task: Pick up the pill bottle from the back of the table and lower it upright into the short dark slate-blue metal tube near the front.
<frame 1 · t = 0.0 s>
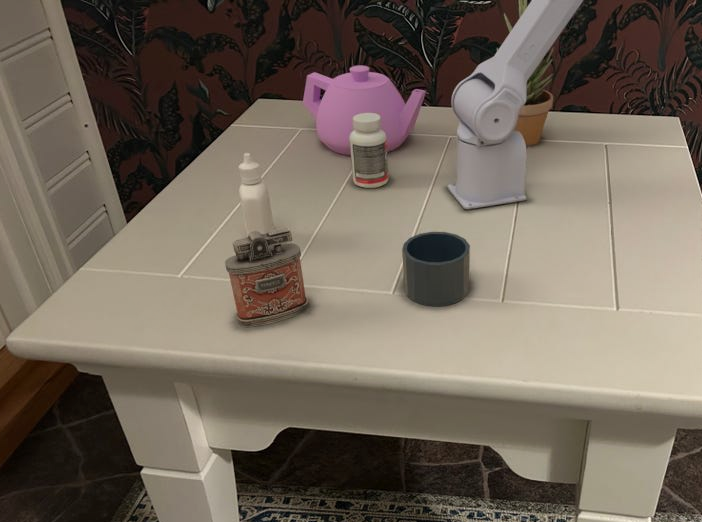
pill bottle: (371, 182, 110), on the table
tube: (436, 288, 86), on the table
lighter: (273, 315, 82), on the table
potted plant: (521, 141, 123), on the table
teapot: (365, 142, 123), on the table
eye dropper bottle: (262, 244, 95), on the table
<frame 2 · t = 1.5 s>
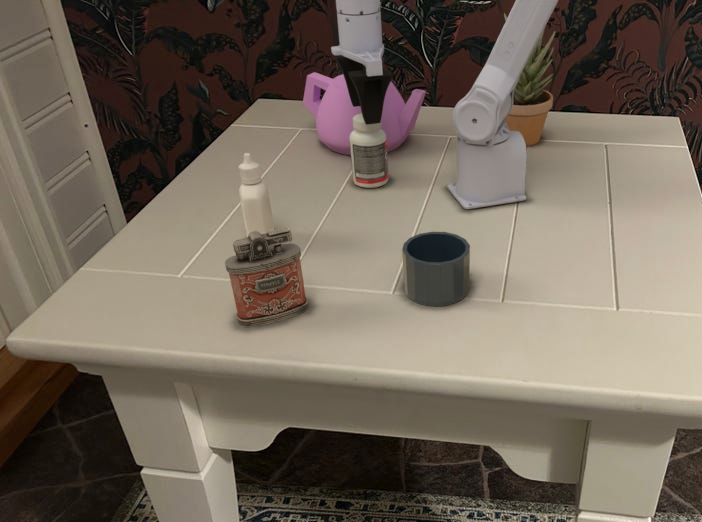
hand: (366, 114, 104), 10 cm above the table, tool pointing down, fingers open, 7 cm apart
nothing on the table moved.
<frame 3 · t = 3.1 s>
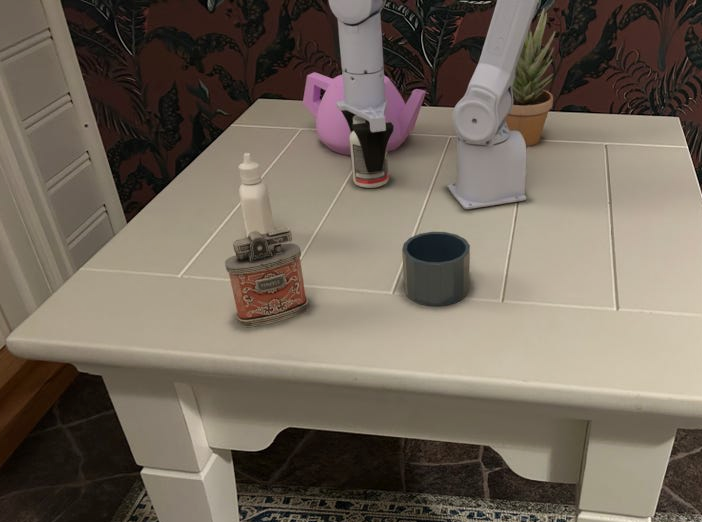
hand: (369, 163, 109), 3 cm above the table, tool pointing down, fingers closed on pill bottle, 5 cm apart
pill bottle: (371, 182, 110), on the table, touching gripper
everything else where it was.
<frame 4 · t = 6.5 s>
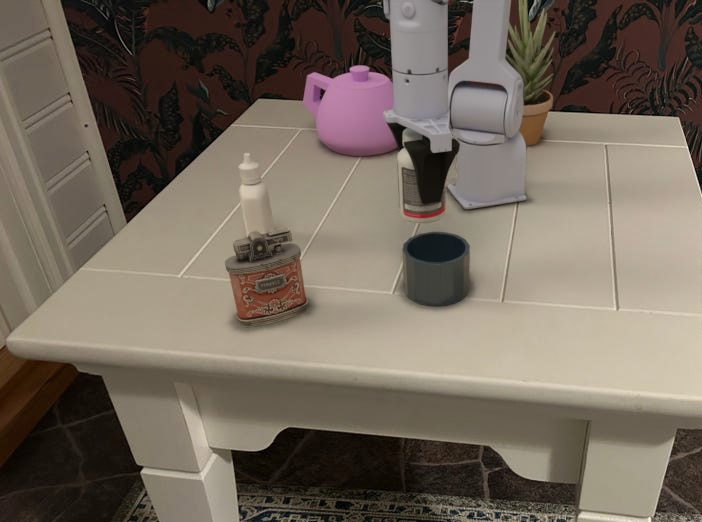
hand: (423, 190, 83), 10 cm above the table, tool pointing down, fingers closed on pill bottle, 5 cm apart
pill bottle: (422, 215, 85), point 7 cm above the table, touching gripper
everything else where it was.
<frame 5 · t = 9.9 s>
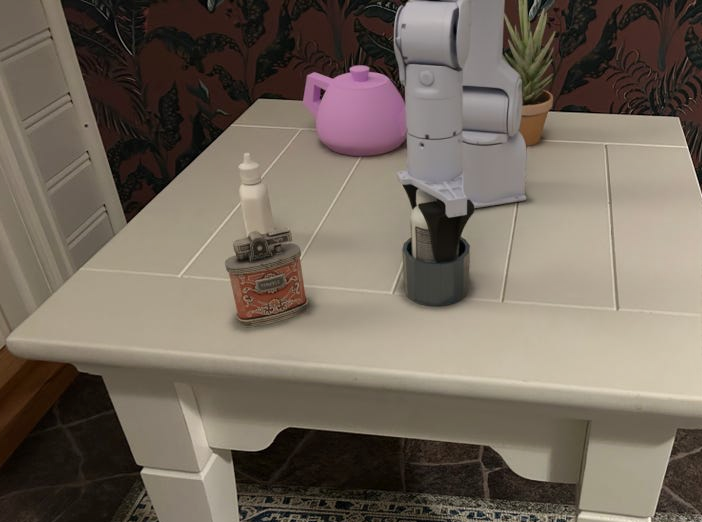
hand: (436, 247, 83), 5 cm above the table, tool pointing down, fingers closed on pill bottle, 5 cm apart
pill bottle: (435, 271, 85), point 2 cm above the table, touching gripper
everything else where it was.
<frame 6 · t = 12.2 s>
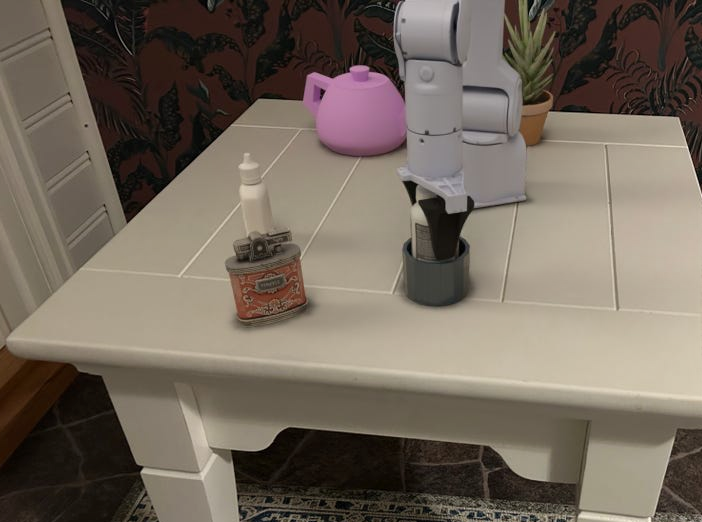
hand: (436, 244, 83), 6 cm above the table, tool pointing down, fingers closed on pill bottle, 5 cm apart
pill bottle: (435, 268, 85), point 3 cm above the table, touching gripper
everything else where it was.
when the fingers open (6 cm above the table, at t = 13.9 s): pill bottle drops 3 cm, resting on tube.
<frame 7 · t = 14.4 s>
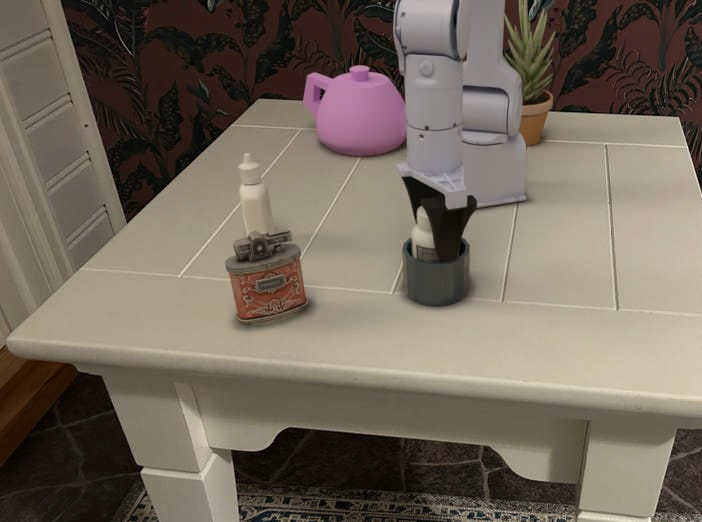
hand: (436, 240, 82), 6 cm above the table, tool pointing down, fingers open, 7 cm apart
pill bottle: (436, 287, 86), resting on tube
everything else where it was.
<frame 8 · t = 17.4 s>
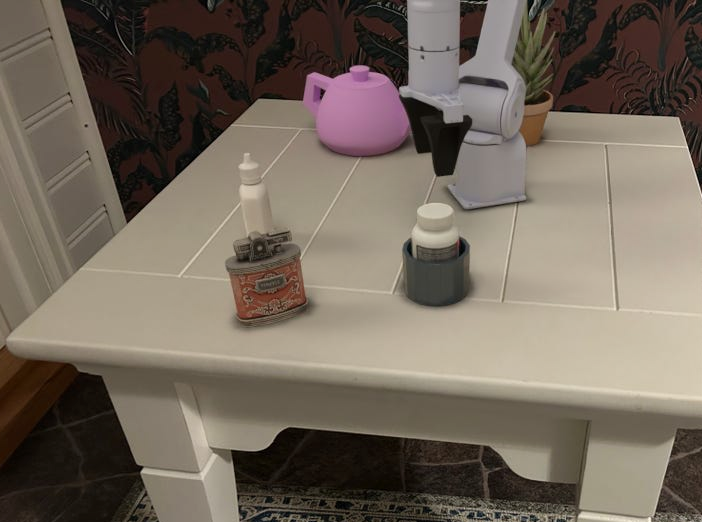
hand: (434, 163, 90), 10 cm above the table, tool pointing down, fingers open, 7 cm apart
nothing on the table moved.
at the end: pill bottle 0.1 cm off-centre in the tube, point 0.2 cm above the tube's base; pill bottle tilted 0° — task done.
